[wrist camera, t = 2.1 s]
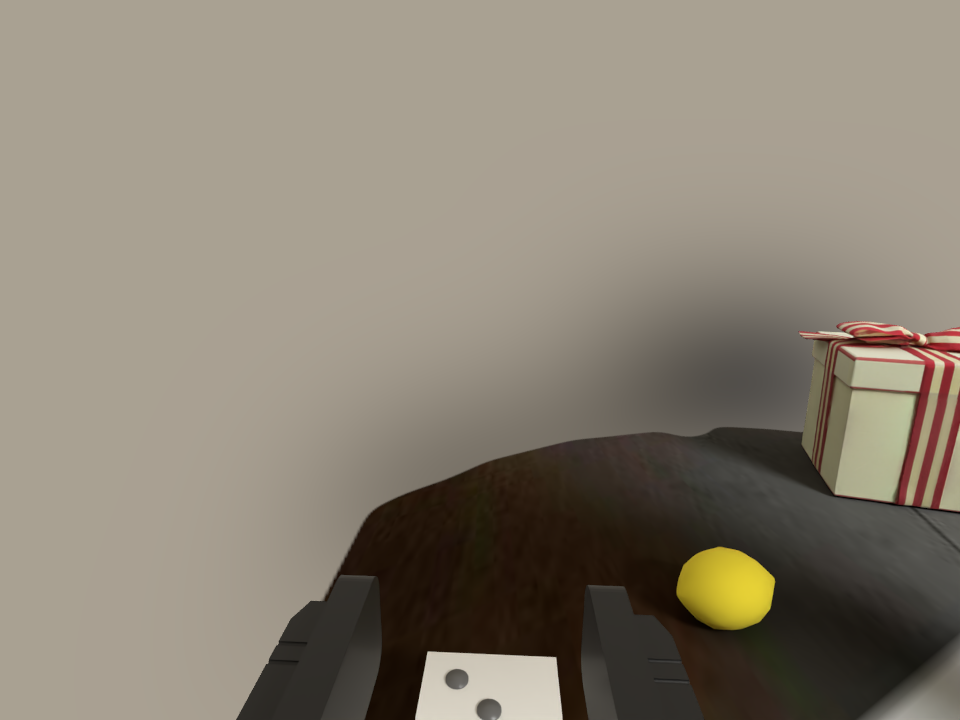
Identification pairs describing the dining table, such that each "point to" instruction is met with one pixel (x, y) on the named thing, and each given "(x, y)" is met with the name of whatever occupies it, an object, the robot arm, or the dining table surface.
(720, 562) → the lemon
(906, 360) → the gift box
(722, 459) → the dining table surface
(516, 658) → the die
